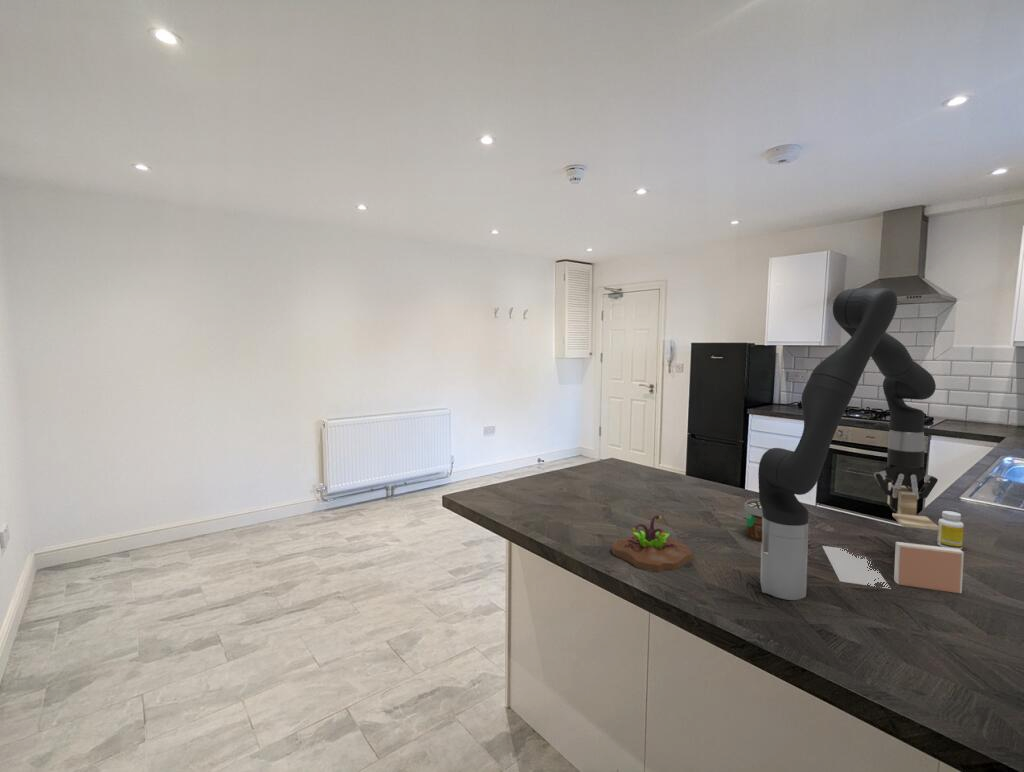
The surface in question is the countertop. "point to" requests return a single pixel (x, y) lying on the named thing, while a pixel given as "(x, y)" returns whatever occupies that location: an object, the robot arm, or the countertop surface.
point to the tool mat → (852, 568)
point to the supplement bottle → (950, 530)
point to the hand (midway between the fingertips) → (903, 511)
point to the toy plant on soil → (652, 549)
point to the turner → (910, 511)
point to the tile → (928, 567)
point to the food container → (754, 519)
